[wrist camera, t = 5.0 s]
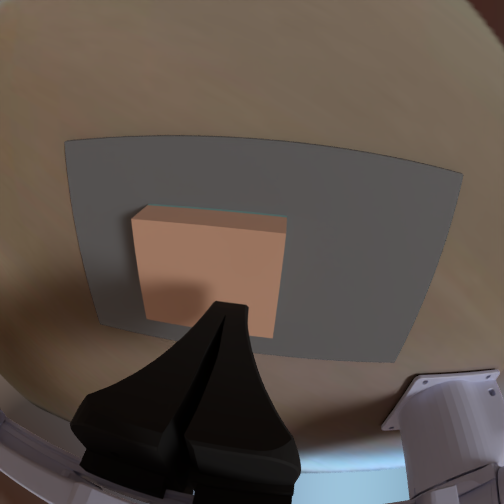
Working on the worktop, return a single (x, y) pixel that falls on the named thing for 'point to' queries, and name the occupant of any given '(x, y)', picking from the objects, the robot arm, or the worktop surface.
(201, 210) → the tile
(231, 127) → the worktop surface
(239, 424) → the robot arm
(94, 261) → the mat
